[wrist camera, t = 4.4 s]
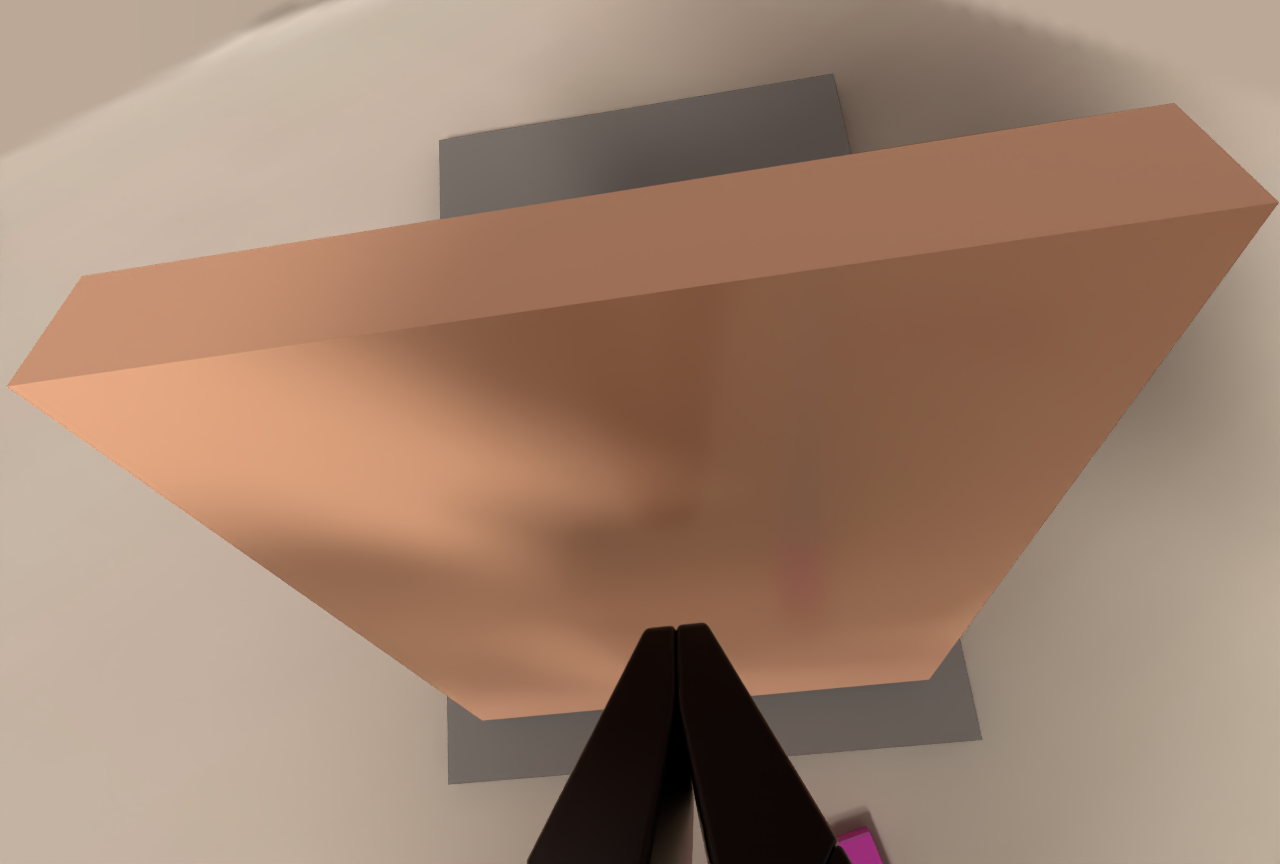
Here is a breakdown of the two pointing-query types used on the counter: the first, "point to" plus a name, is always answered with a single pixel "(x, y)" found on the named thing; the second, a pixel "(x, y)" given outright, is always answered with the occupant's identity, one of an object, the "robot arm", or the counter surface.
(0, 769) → the counter surface
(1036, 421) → the ceramic tile
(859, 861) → the squeegee
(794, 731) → the rubber mat
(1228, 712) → the counter surface
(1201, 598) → the counter surface
